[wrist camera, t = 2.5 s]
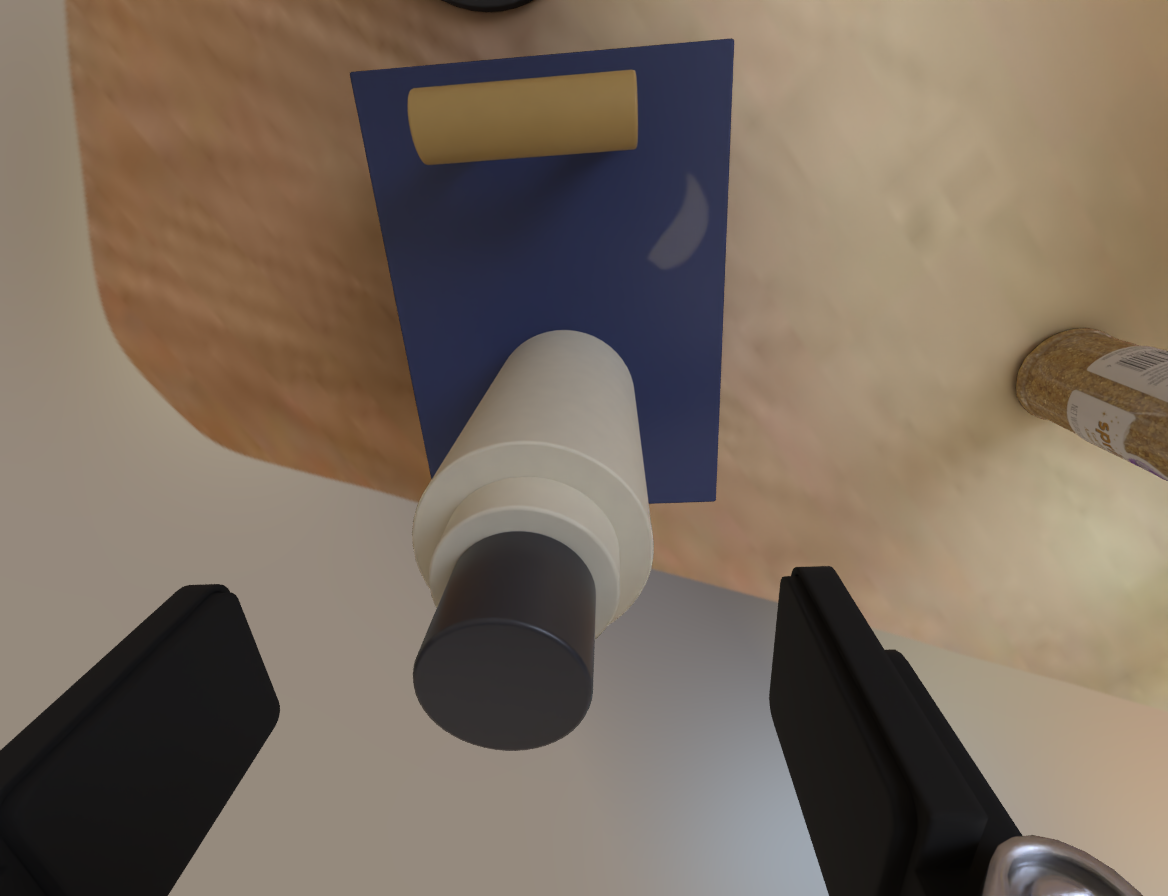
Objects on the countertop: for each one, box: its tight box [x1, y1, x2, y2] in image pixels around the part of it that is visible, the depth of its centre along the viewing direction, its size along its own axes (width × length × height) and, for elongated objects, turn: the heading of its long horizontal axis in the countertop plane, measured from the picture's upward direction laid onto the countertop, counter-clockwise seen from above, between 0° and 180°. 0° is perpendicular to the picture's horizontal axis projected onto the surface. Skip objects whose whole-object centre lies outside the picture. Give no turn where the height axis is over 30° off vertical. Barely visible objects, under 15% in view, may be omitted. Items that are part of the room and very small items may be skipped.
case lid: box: [350, 39, 734, 504], centre depth 17 cm, size 15×11×5 cm
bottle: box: [412, 330, 654, 751], centre depth 14 cm, size 5×5×13 cm
